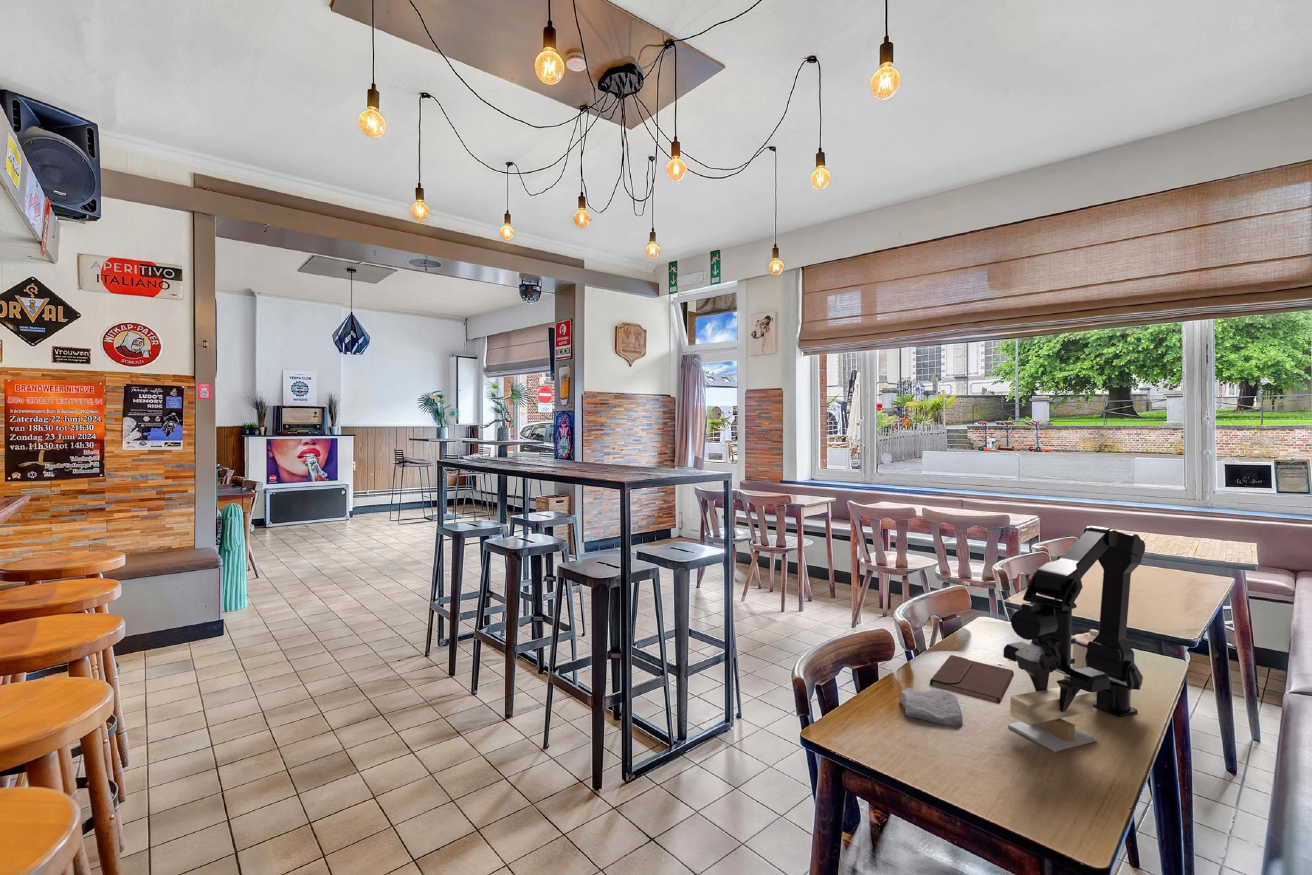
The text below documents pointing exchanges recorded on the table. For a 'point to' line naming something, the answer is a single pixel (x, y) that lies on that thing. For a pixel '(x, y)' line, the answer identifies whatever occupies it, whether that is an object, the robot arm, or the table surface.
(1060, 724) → the fulcrum stand
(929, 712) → the stone block
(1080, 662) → the teacup with lid
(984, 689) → the notebook
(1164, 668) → the table surface
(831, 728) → the table surface
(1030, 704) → the beech bar
